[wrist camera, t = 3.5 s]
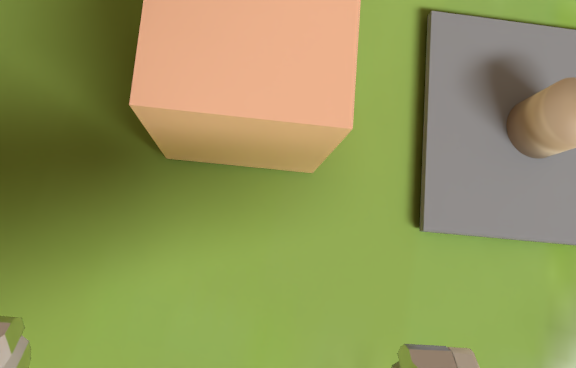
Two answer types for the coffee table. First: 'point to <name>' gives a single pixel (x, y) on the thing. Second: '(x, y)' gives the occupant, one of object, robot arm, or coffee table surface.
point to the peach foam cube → (247, 79)
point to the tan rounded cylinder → (545, 121)
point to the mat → (492, 131)
